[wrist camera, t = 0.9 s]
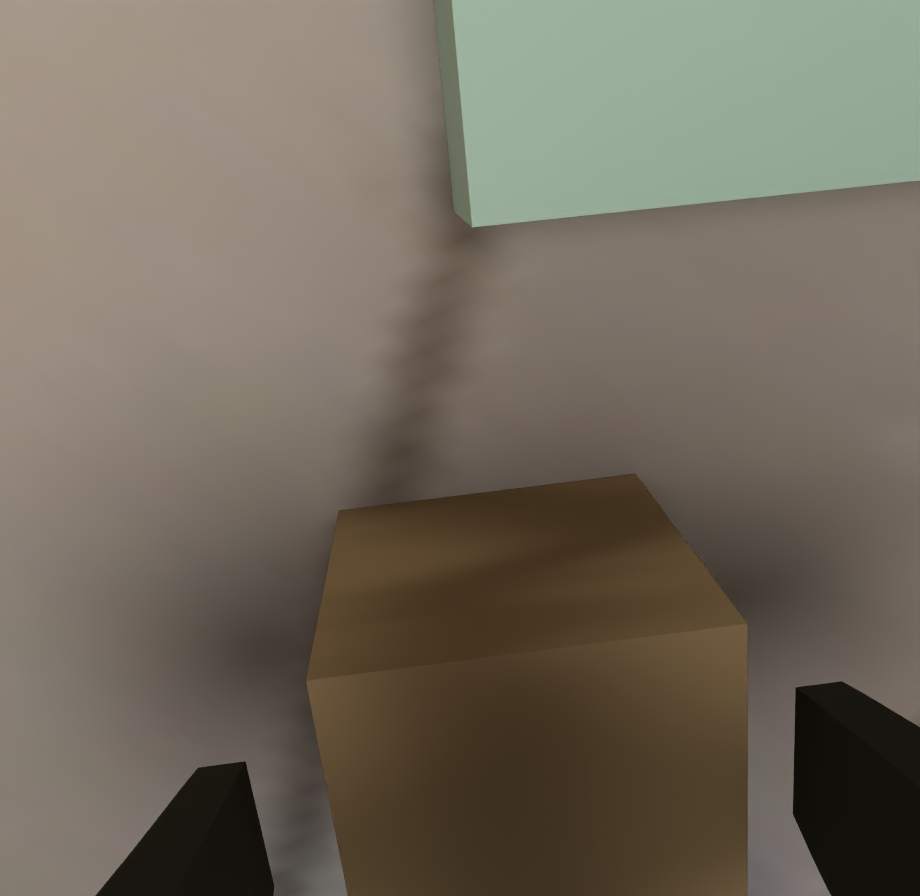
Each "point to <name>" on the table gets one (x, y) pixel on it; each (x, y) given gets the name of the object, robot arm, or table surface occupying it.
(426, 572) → the walnut block
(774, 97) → the riser block
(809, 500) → the table surface
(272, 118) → the table surface
